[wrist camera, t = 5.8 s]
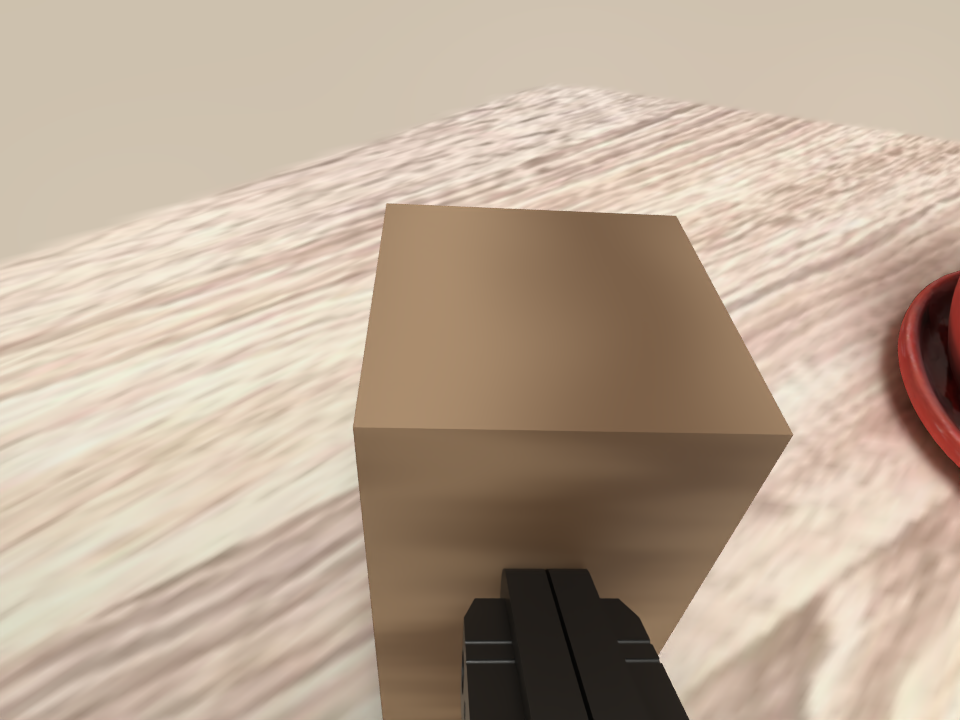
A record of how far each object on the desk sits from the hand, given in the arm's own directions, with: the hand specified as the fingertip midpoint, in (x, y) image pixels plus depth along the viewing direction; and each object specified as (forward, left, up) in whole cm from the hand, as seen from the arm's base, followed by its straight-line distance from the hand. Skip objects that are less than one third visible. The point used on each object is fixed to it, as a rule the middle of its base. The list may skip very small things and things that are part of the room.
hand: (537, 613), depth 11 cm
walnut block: (0, +1, -8) cm, 8 cm away
